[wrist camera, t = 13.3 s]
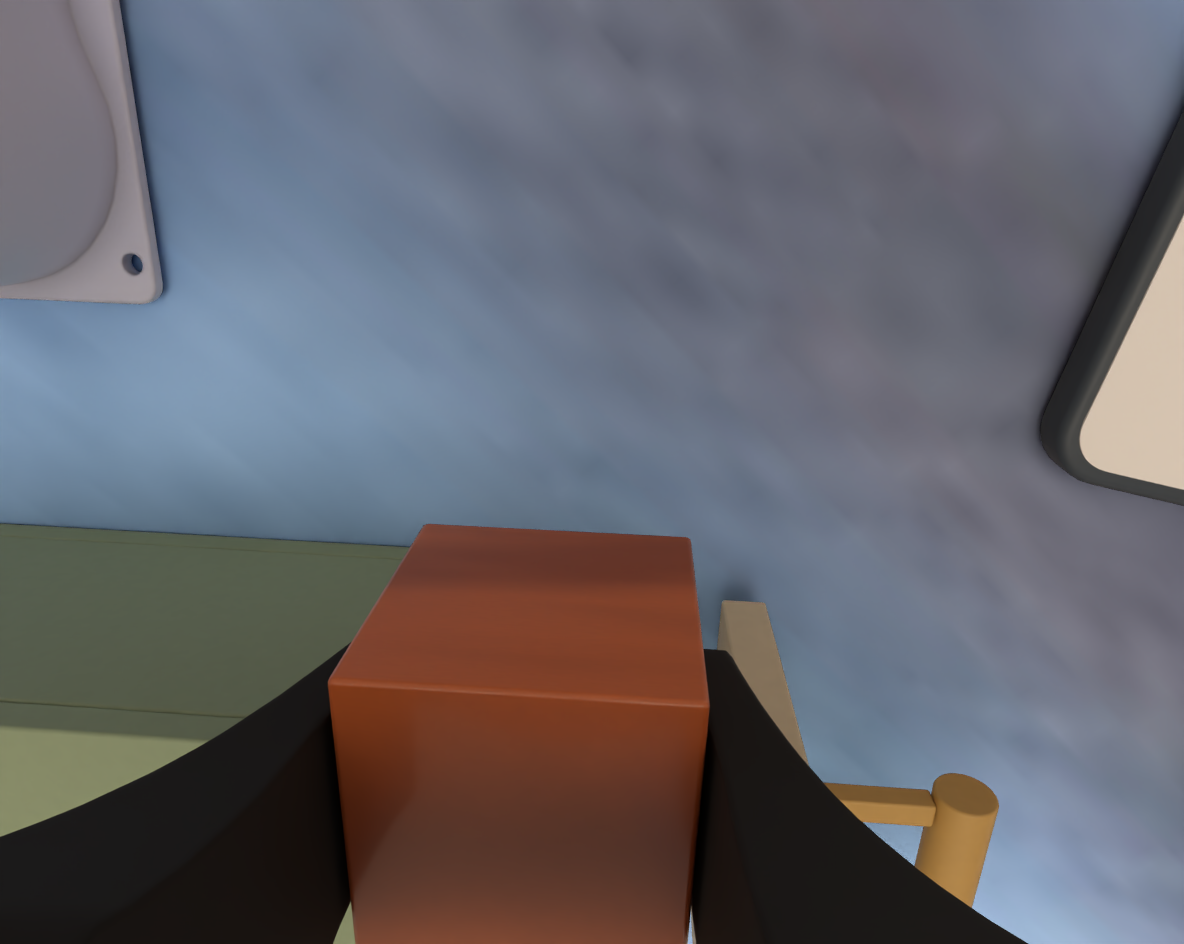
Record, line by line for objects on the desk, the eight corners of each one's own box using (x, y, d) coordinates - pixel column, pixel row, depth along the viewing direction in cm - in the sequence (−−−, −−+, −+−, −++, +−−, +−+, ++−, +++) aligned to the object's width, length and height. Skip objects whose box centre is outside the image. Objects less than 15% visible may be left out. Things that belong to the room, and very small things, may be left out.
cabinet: (455, 548, 23) (354, 752, 15) (465, 880, 28) (391, 1172, 20) (-68, 518, 24) (-427, 697, 16) (25, 846, 28) (-219, 1114, 20)
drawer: (948, 612, 22) (1070, 795, 16) (880, 921, 26) (956, 1166, 20) (247, 570, 23) (94, 726, 17) (288, 875, 27) (178, 1095, 21)
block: (423, 521, 13) (324, 680, 9) (691, 535, 13) (711, 704, 9) (434, 739, 15) (353, 957, 11) (674, 755, 15) (684, 984, 11)
